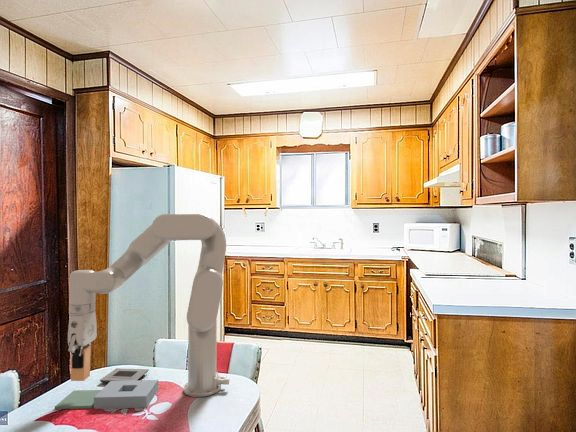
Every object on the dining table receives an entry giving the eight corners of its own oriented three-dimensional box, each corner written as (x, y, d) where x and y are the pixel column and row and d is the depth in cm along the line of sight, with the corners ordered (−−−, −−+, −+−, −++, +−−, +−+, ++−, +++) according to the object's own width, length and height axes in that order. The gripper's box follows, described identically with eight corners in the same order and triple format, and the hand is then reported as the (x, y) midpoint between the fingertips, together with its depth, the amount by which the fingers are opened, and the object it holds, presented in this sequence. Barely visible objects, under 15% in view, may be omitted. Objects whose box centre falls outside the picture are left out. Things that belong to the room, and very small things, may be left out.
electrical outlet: (149, 374, 141) (149, 368, 141) (135, 387, 131) (135, 380, 131) (116, 373, 142) (116, 367, 142) (99, 385, 132) (99, 379, 132)
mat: (106, 392, 126) (106, 389, 126) (91, 408, 115) (91, 405, 115) (73, 392, 125) (73, 390, 126) (54, 409, 114) (54, 406, 115)
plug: (89, 375, 122) (91, 342, 123) (83, 380, 118) (84, 346, 119) (77, 375, 122) (78, 342, 122) (70, 380, 118) (72, 345, 118)
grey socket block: (158, 390, 127) (158, 379, 127) (146, 407, 115) (146, 396, 115) (110, 391, 127) (110, 380, 127) (93, 408, 115) (93, 397, 115)
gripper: (81, 314, 113) (79, 375, 112) (105, 302, 129) (104, 356, 129) (55, 314, 112) (54, 376, 112) (83, 303, 129) (82, 356, 129)
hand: (81, 364), depth 120 cm, fingers closed on plug, 4 cm apart
